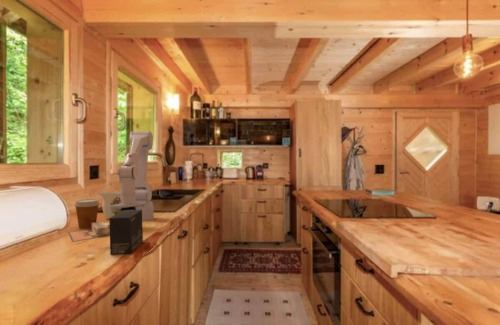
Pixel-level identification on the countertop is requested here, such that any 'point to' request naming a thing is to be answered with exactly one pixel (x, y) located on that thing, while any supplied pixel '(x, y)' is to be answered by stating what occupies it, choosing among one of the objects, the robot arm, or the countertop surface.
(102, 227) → the t block
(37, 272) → the countertop surface
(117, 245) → the small box
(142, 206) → the robot arm
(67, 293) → the countertop surface
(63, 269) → the countertop surface
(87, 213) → the disposable coffee cup
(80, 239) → the mat
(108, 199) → the pitcher
